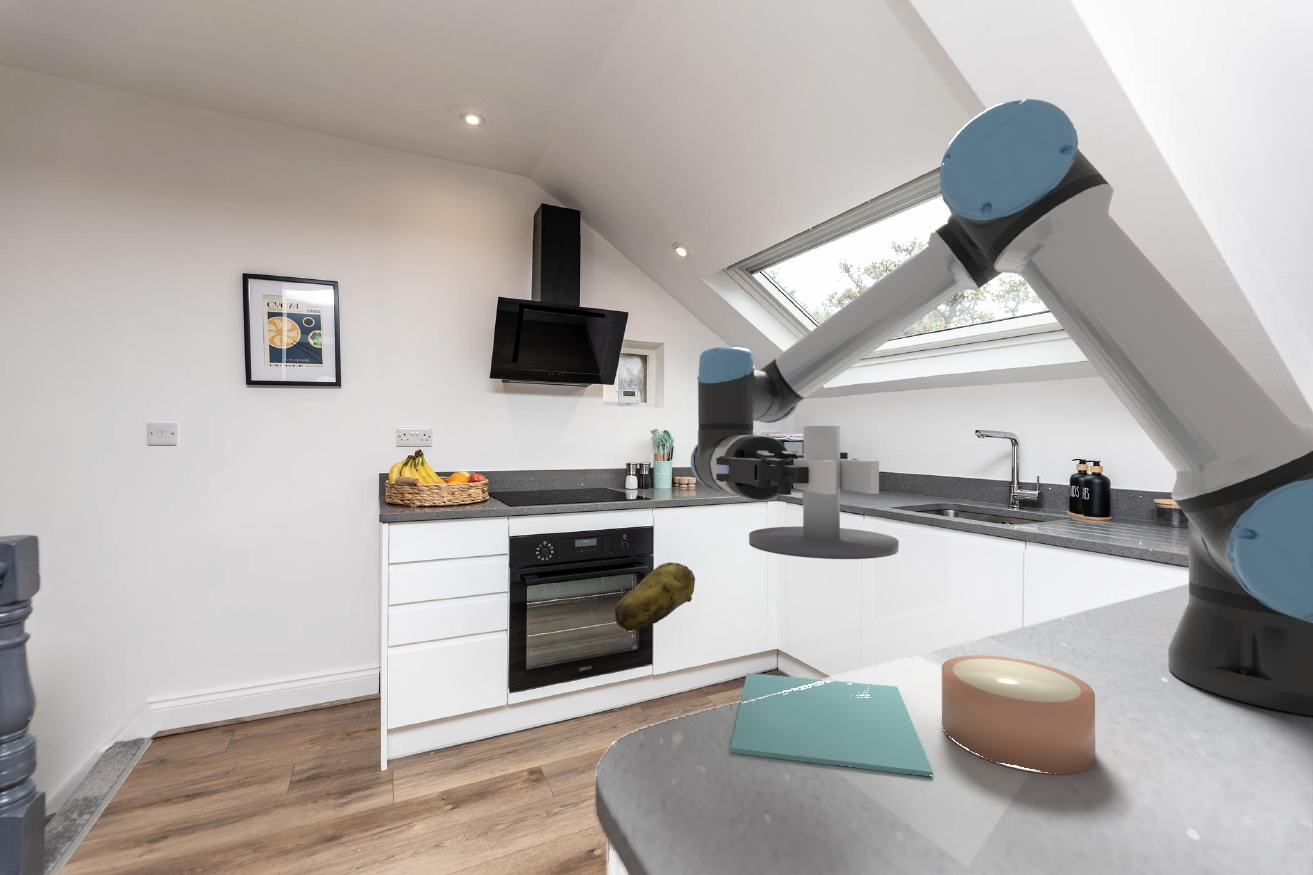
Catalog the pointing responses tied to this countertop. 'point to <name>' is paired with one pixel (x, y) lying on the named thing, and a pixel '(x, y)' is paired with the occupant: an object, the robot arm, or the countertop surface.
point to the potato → (655, 596)
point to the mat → (828, 725)
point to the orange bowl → (1019, 713)
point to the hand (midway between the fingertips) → (853, 477)
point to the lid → (823, 516)
